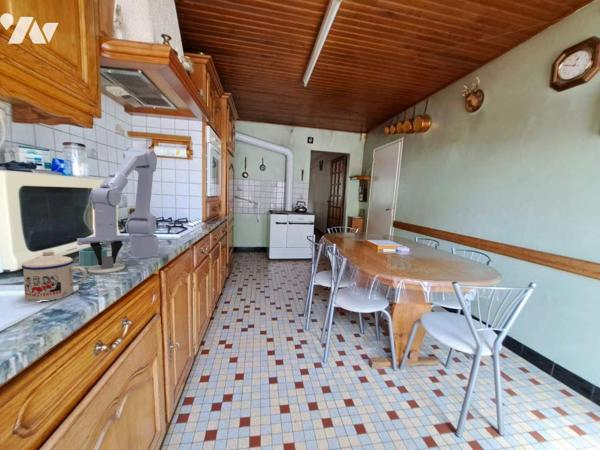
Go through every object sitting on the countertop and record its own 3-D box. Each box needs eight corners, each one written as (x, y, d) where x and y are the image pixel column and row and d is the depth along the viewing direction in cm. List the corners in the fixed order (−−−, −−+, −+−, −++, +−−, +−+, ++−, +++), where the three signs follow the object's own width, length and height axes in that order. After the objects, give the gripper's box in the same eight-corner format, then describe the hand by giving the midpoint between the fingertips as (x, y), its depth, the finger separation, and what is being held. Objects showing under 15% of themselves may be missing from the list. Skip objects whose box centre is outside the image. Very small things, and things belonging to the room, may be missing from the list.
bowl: (104, 260, 96) (104, 246, 95) (108, 264, 91) (108, 250, 90) (78, 263, 90) (78, 248, 90) (81, 268, 85) (80, 252, 85)
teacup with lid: (14, 305, 57) (10, 256, 56) (36, 290, 66) (34, 247, 64) (80, 300, 62) (78, 254, 61) (93, 287, 70) (92, 246, 69)
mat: (121, 264, 92) (121, 263, 92) (129, 271, 85) (129, 270, 85) (84, 269, 84) (84, 267, 84) (89, 277, 77) (89, 276, 77)
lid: (121, 263, 92) (120, 252, 91) (128, 270, 85) (128, 258, 85) (85, 267, 84) (85, 256, 84) (90, 275, 78) (90, 263, 77)
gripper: (78, 226, 75) (80, 270, 76) (134, 224, 86) (135, 263, 87) (75, 223, 80) (77, 265, 81) (129, 222, 90) (129, 258, 92)
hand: (106, 263), depth 84 cm, fingers closed on lid, 3 cm apart
